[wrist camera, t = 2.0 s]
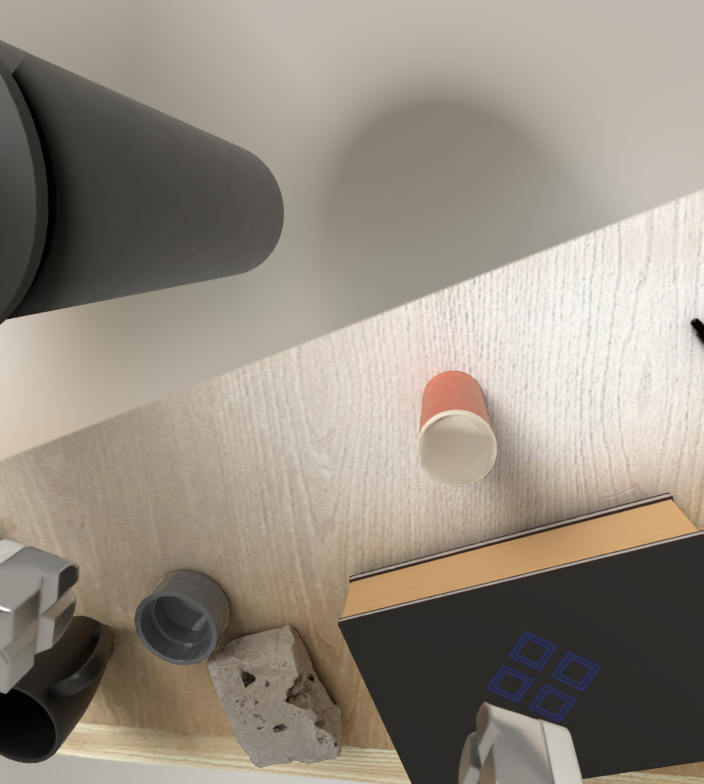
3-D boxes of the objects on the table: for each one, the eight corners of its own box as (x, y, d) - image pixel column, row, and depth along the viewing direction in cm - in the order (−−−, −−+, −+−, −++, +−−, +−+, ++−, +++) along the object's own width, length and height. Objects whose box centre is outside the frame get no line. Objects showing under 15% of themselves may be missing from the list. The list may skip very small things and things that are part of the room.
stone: (285, 603, 47) (203, 643, 50) (266, 658, 42) (176, 699, 45) (372, 700, 50) (289, 732, 53) (365, 763, 45) (274, 794, 48)
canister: (410, 393, 40) (400, 441, 31) (459, 357, 39) (466, 397, 30) (445, 438, 41) (447, 500, 32) (496, 405, 40) (513, 459, 30)
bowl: (139, 591, 50) (117, 617, 46) (194, 552, 48) (176, 576, 44) (192, 649, 51) (174, 678, 47) (248, 613, 48) (234, 641, 45)
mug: (171, 641, 51) (113, 729, 42) (84, 686, 54) (12, 776, 45) (117, 574, 49) (46, 650, 40) (31, 623, 53) (-53, 703, 44)
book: (720, 676, 43) (768, 753, 37) (422, 730, 49) (420, 803, 43) (664, 487, 39) (707, 535, 33) (351, 570, 45) (337, 624, 39)
